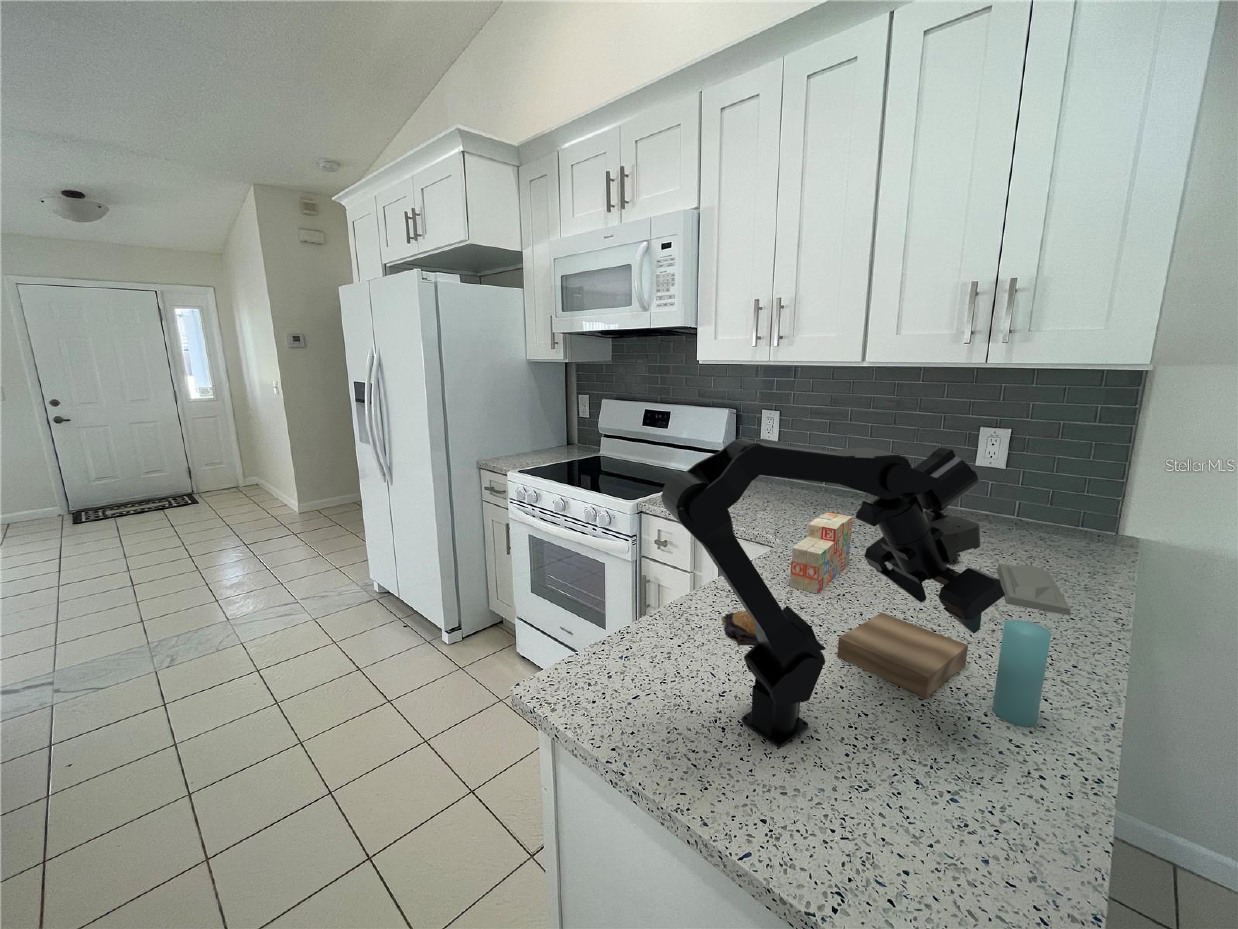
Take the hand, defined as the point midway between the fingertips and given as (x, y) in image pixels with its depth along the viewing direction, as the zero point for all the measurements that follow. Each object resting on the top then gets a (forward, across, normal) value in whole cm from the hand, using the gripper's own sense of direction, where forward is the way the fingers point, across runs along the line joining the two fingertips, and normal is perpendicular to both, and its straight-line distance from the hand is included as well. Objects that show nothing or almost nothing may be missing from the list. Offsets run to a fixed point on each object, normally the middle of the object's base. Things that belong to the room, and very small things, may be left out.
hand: (948, 614), depth 74 cm
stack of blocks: (+16, +44, 0) cm, 46 cm away
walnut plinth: (+12, +9, +6) cm, 16 cm away
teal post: (+15, -6, +1) cm, 16 cm away
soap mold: (+37, +26, -32) cm, 55 cm away
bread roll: (+2, +24, +23) cm, 34 cm away
